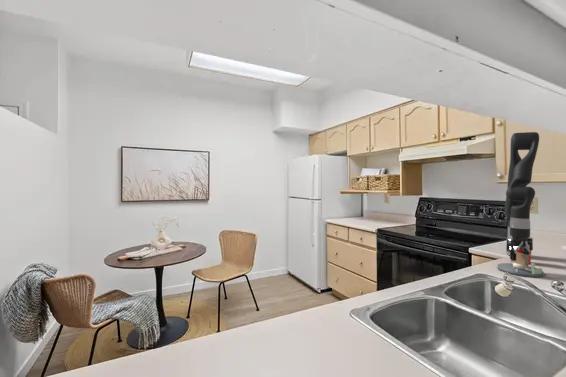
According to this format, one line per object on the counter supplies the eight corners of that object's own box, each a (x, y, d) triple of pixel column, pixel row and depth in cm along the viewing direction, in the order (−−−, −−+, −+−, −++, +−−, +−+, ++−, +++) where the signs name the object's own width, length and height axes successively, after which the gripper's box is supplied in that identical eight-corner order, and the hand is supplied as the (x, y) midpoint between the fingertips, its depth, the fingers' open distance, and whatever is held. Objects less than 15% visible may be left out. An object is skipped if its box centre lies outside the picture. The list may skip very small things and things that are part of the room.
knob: (508, 265, 135) (508, 251, 134) (516, 265, 135) (516, 251, 135) (529, 272, 125) (529, 257, 124) (538, 271, 125) (538, 256, 125)
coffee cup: (528, 265, 140) (529, 237, 140) (509, 261, 148) (510, 234, 147) (536, 263, 144) (536, 235, 144) (517, 259, 151) (517, 233, 151)
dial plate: (501, 264, 143) (501, 257, 143) (545, 271, 131) (545, 264, 130) (493, 271, 132) (493, 264, 132) (541, 280, 120) (541, 272, 119)
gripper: (517, 229, 126) (517, 263, 126) (539, 227, 129) (538, 260, 130) (501, 226, 133) (500, 258, 133) (521, 225, 137) (521, 256, 137)
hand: (519, 259), depth 131 cm, fingers open, 8 cm apart
